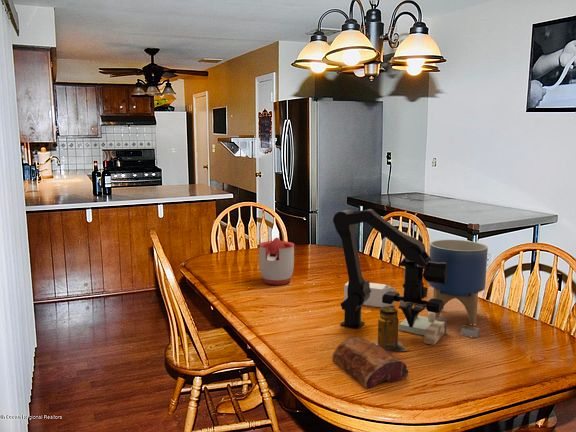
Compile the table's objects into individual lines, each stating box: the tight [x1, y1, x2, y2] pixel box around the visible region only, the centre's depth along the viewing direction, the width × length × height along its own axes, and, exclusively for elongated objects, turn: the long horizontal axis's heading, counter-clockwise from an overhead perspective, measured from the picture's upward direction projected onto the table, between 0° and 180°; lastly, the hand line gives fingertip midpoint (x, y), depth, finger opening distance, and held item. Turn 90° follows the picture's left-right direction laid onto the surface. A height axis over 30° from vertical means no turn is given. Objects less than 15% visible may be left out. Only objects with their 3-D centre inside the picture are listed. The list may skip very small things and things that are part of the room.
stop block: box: [460, 325, 480, 339], centre depth 168 cm, size 3×5×2 cm, turn 57°
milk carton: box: [343, 280, 396, 308], centre depth 200 cm, size 7×7×19 cm
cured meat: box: [331, 336, 409, 390], centre depth 146 cm, size 18×25×7 cm
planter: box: [427, 239, 489, 326], centre depth 183 cm, size 19×19×26 cm
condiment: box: [374, 306, 408, 353], centre depth 157 cm, size 7×8×12 cm
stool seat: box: [398, 310, 436, 337], centre depth 174 cm, size 12×10×5 cm
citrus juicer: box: [258, 237, 295, 286], centre depth 227 cm, size 16×17×20 cm
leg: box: [424, 316, 448, 346], centre depth 165 cm, size 14×4×4 cm, turn 147°
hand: (411, 327), depth 167 cm, fingers closed
